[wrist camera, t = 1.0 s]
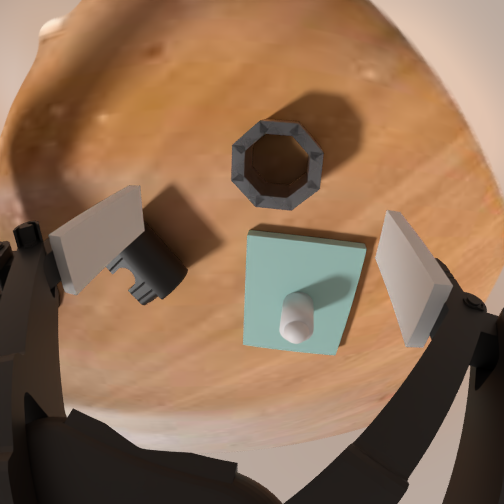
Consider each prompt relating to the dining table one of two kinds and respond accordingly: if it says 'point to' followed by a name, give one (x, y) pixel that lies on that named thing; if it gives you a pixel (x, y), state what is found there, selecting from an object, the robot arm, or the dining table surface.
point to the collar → (271, 192)
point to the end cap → (150, 267)
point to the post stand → (299, 291)
